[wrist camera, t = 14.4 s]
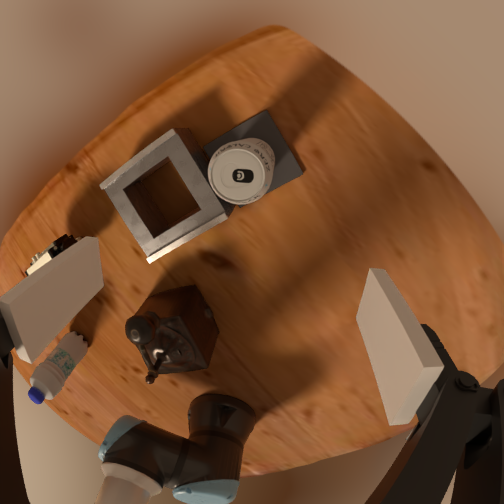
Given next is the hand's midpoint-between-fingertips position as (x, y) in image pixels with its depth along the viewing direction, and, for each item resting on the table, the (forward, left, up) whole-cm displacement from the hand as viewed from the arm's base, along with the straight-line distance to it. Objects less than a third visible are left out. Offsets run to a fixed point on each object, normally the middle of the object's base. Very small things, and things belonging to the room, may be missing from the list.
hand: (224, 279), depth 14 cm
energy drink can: (0, +3, -29) cm, 29 cm away
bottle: (-52, -9, -30) cm, 60 cm away
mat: (0, +3, -30) cm, 30 cm away
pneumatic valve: (-34, +7, -30) cm, 46 cm away
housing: (-12, +5, -30) cm, 32 cm away
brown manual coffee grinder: (-23, -11, -30) cm, 39 cm away
